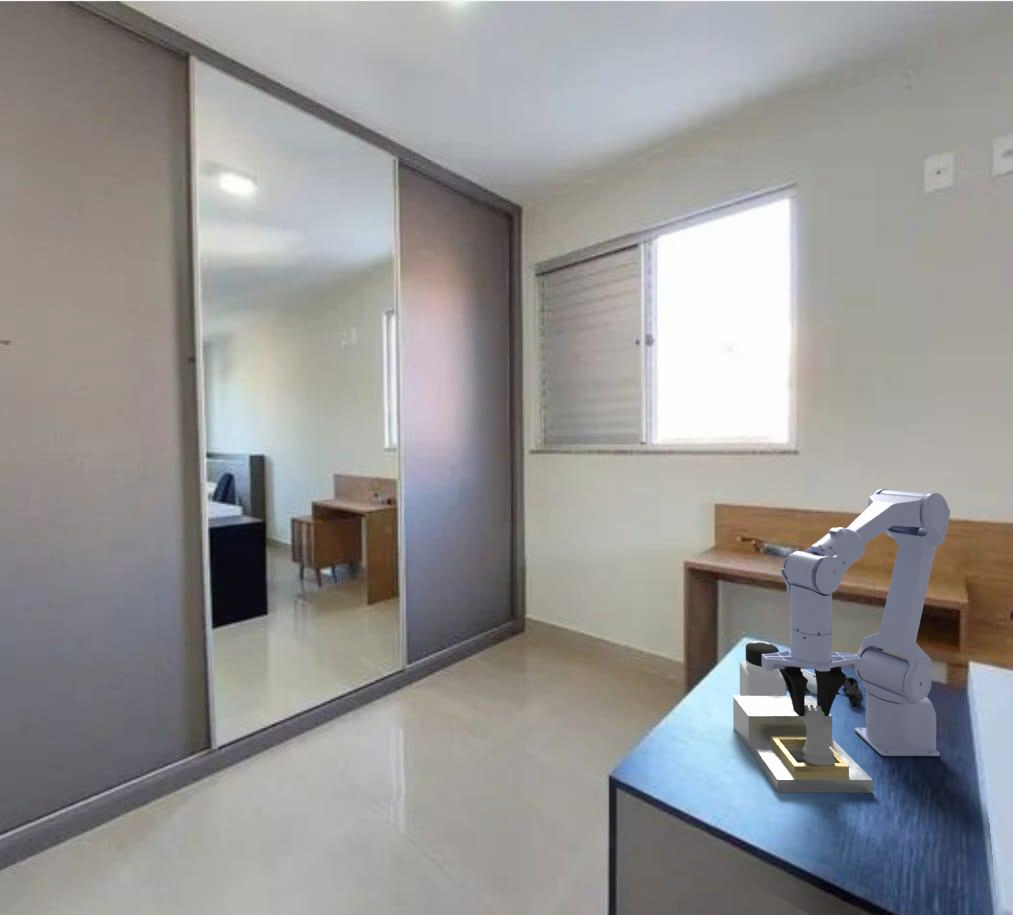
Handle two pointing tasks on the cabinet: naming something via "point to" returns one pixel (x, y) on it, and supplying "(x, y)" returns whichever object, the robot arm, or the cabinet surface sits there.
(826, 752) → the rook chess piece
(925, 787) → the cabinet surface
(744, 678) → the medicine bottle
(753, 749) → the white stepped block
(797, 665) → the robot arm
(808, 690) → the computer mouse
